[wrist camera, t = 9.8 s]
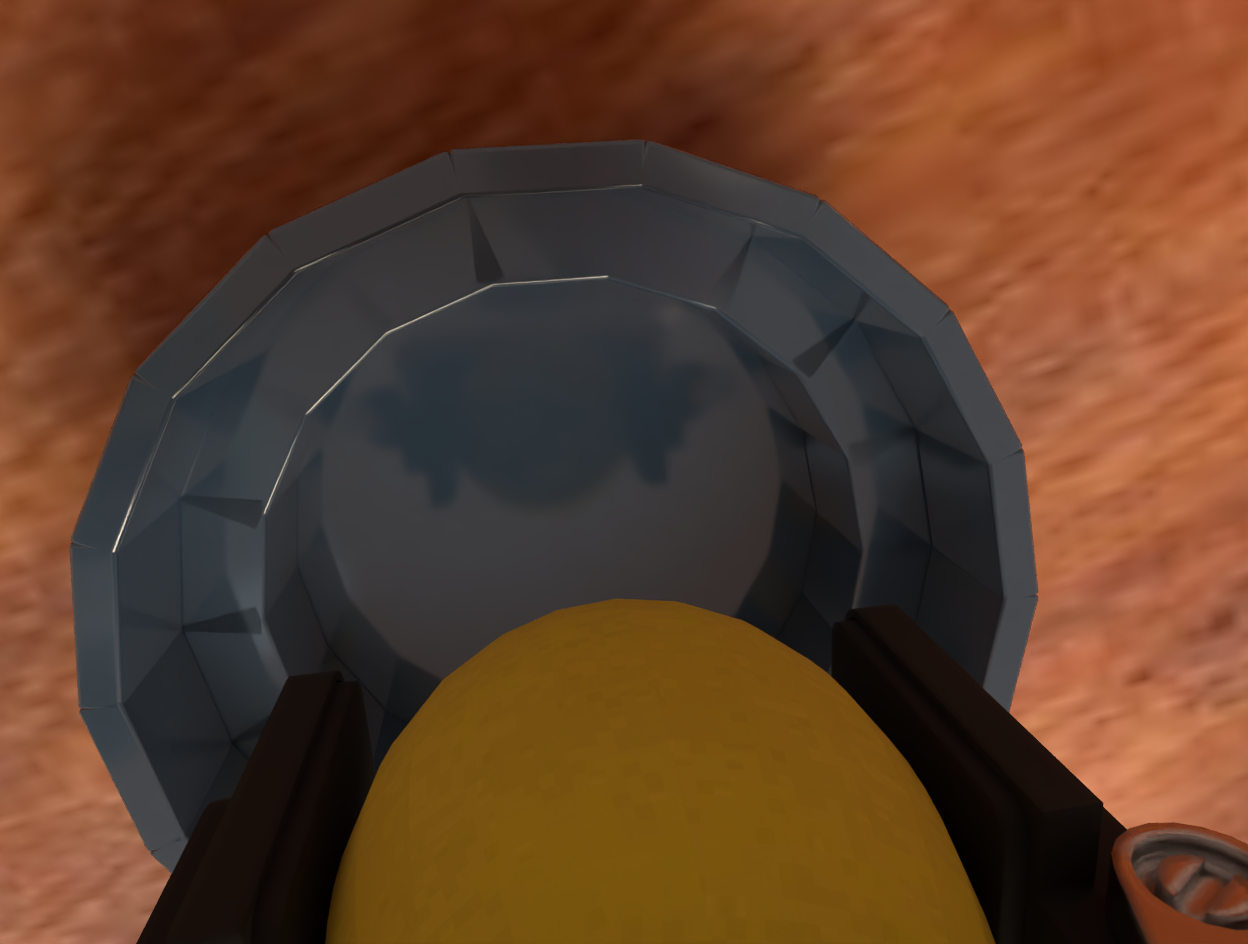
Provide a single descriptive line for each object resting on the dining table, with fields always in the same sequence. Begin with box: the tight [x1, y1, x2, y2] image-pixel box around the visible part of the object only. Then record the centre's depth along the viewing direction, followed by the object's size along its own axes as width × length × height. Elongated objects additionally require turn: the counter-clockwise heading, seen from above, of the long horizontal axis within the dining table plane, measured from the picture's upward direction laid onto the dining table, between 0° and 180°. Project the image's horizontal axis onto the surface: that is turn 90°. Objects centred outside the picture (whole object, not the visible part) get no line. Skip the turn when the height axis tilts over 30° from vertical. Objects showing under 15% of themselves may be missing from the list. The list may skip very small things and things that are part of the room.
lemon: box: [325, 599, 996, 944], centre depth 8 cm, size 6×6×8 cm
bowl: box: [70, 139, 1038, 873], centre depth 16 cm, size 14×14×6 cm
